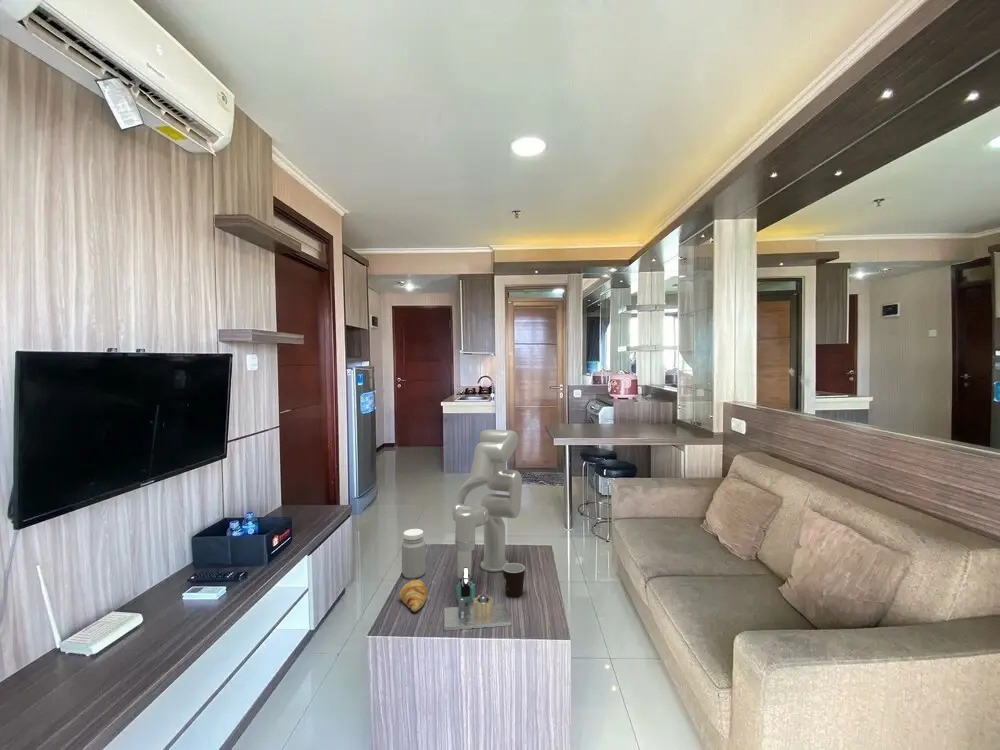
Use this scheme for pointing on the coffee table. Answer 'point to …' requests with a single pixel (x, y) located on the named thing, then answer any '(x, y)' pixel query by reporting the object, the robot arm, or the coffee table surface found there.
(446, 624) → the board
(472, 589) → the gear
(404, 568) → the jar
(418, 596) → the croissant
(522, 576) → the coffee mug
